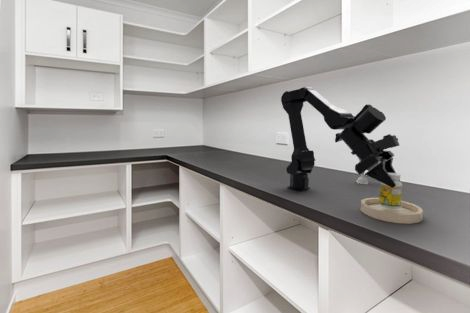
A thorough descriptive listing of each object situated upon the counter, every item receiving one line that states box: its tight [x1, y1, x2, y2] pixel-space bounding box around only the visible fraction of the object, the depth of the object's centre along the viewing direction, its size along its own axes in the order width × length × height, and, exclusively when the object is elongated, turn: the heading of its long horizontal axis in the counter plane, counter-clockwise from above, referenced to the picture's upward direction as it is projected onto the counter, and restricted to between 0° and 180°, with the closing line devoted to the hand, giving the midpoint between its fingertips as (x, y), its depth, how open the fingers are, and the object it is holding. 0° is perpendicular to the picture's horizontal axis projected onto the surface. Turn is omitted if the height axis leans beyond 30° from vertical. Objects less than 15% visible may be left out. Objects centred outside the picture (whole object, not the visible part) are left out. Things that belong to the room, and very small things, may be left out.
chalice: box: [355, 157, 369, 185], centre depth 109 cm, size 7×7×18 cm
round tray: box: [360, 197, 424, 225], centre depth 72 cm, size 15×15×2 cm
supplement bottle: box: [378, 172, 403, 209], centre depth 72 cm, size 5×5×10 cm
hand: (396, 184), depth 70 cm, fingers closed on supplement bottle, 5 cm apart
